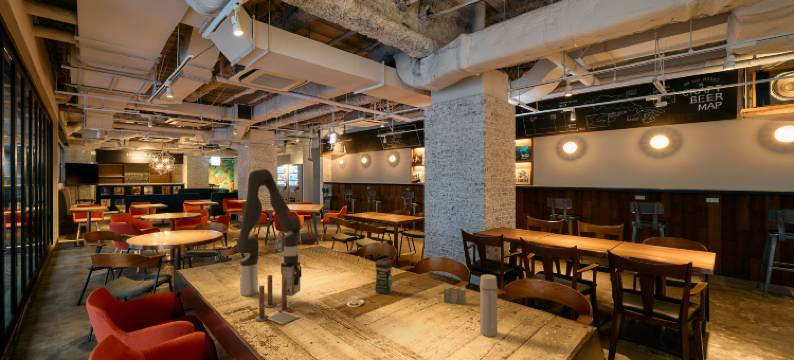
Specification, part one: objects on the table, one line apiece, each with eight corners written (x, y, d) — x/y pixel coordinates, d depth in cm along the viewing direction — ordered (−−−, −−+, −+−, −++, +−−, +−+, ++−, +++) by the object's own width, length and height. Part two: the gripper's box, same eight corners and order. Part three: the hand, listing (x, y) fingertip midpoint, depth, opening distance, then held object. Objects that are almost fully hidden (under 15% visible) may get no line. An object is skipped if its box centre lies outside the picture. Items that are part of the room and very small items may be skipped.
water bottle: (477, 330, 158) (477, 274, 157) (494, 329, 158) (494, 273, 158) (484, 340, 149) (483, 280, 148) (502, 339, 149) (502, 280, 149)
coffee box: (290, 289, 199) (290, 261, 198) (300, 290, 198) (300, 262, 197) (281, 295, 190) (281, 265, 189) (292, 296, 189) (292, 266, 188)
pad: (266, 319, 171) (266, 317, 171) (283, 312, 180) (283, 311, 180) (282, 325, 165) (282, 323, 164) (299, 318, 173) (299, 316, 173)
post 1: (252, 319, 171) (252, 286, 171) (263, 315, 176) (263, 283, 176) (260, 322, 168) (259, 289, 167) (271, 318, 172) (270, 285, 172)
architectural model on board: (466, 303, 192) (465, 285, 192) (465, 305, 189) (465, 287, 189) (445, 301, 195) (444, 283, 195) (444, 303, 192) (444, 285, 192)
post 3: (275, 311, 182) (275, 279, 181) (285, 307, 187) (285, 277, 186) (283, 313, 178) (282, 282, 178) (293, 309, 183) (292, 279, 183)
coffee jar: (373, 293, 208) (373, 261, 208) (379, 289, 215) (379, 258, 215) (388, 295, 204) (388, 263, 204) (394, 291, 211) (393, 259, 211)
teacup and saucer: (365, 303, 193) (365, 296, 193) (358, 308, 185) (358, 300, 185) (352, 301, 196) (351, 293, 196) (344, 306, 189) (343, 298, 189)
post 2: (261, 306, 189) (261, 276, 188) (271, 302, 193) (271, 273, 193) (268, 308, 185) (268, 278, 185) (278, 305, 190) (278, 275, 190)
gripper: (276, 253, 194) (276, 282, 194) (294, 257, 186) (294, 288, 186) (288, 250, 200) (288, 279, 201) (305, 254, 192) (305, 284, 192)
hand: (291, 283), depth 193 cm, fingers closed on coffee box, 8 cm apart
